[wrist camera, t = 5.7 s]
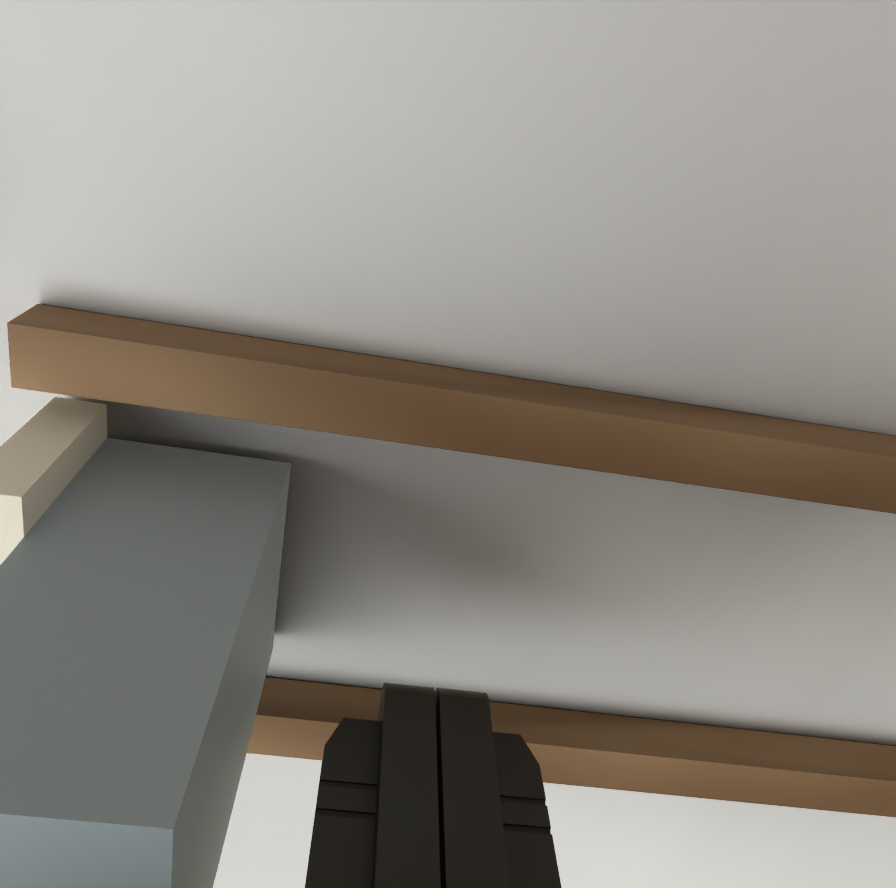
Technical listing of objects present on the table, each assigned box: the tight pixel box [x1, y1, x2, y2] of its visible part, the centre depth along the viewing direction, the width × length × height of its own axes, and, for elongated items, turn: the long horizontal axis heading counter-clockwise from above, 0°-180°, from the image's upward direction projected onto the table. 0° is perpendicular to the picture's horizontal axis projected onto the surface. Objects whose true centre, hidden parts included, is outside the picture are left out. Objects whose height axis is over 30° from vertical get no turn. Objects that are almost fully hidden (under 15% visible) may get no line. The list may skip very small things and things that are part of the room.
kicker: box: [0, 397, 291, 888], centre depth 11 cm, size 5×4×7 cm
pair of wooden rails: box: [7, 304, 896, 817], centre depth 14 cm, size 8×18×1 cm, turn 80°
